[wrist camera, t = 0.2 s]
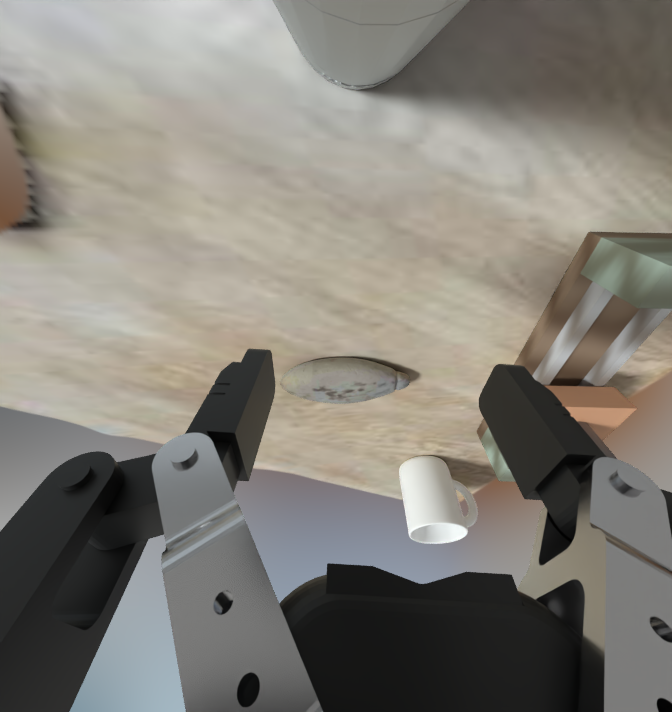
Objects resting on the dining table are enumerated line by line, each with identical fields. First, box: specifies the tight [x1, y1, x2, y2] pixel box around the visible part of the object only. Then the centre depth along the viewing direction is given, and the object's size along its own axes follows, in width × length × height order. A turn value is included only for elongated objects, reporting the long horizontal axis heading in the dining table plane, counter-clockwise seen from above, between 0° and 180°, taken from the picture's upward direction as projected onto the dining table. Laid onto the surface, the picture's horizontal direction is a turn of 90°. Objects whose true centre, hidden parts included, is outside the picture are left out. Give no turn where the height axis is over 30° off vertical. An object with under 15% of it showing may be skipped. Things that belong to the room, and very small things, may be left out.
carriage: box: [545, 386, 637, 459], centre depth 27 cm, size 8×9×14 cm
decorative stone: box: [280, 358, 410, 404], centre depth 33 cm, size 6×16×3 cm, turn 92°
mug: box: [399, 456, 478, 544], centre depth 44 cm, size 12×8×10 cm
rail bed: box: [477, 232, 672, 482], centre depth 29 cm, size 28×10×8 cm, turn 179°
